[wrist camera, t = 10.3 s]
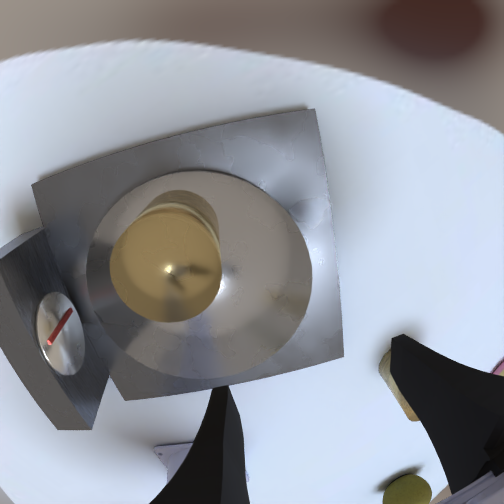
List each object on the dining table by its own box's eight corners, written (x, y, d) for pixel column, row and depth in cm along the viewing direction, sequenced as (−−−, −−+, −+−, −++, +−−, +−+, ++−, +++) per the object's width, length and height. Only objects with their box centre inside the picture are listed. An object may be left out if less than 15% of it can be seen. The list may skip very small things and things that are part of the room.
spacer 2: (416, 369, 27) (446, 408, 22) (377, 384, 27) (404, 428, 22) (421, 335, 26) (456, 374, 20) (379, 350, 26) (411, 395, 20)
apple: (376, 482, 36) (391, 517, 29) (422, 460, 36) (441, 493, 29) (375, 497, 39) (388, 528, 32) (418, 478, 39) (433, 507, 32)
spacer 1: (227, 254, 18) (235, 307, 13) (155, 274, 18) (135, 332, 13) (206, 179, 17) (202, 202, 11) (130, 203, 17) (93, 236, 11)
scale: (338, 347, 25) (372, 407, 18) (98, 394, 24) (79, 454, 17) (309, 109, 18) (356, 99, 12) (9, 195, 17) (-53, 222, 11)
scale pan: (318, 347, 22) (322, 353, 22) (136, 383, 22) (134, 391, 21) (289, 147, 17) (292, 147, 17) (61, 206, 17) (55, 209, 16)
